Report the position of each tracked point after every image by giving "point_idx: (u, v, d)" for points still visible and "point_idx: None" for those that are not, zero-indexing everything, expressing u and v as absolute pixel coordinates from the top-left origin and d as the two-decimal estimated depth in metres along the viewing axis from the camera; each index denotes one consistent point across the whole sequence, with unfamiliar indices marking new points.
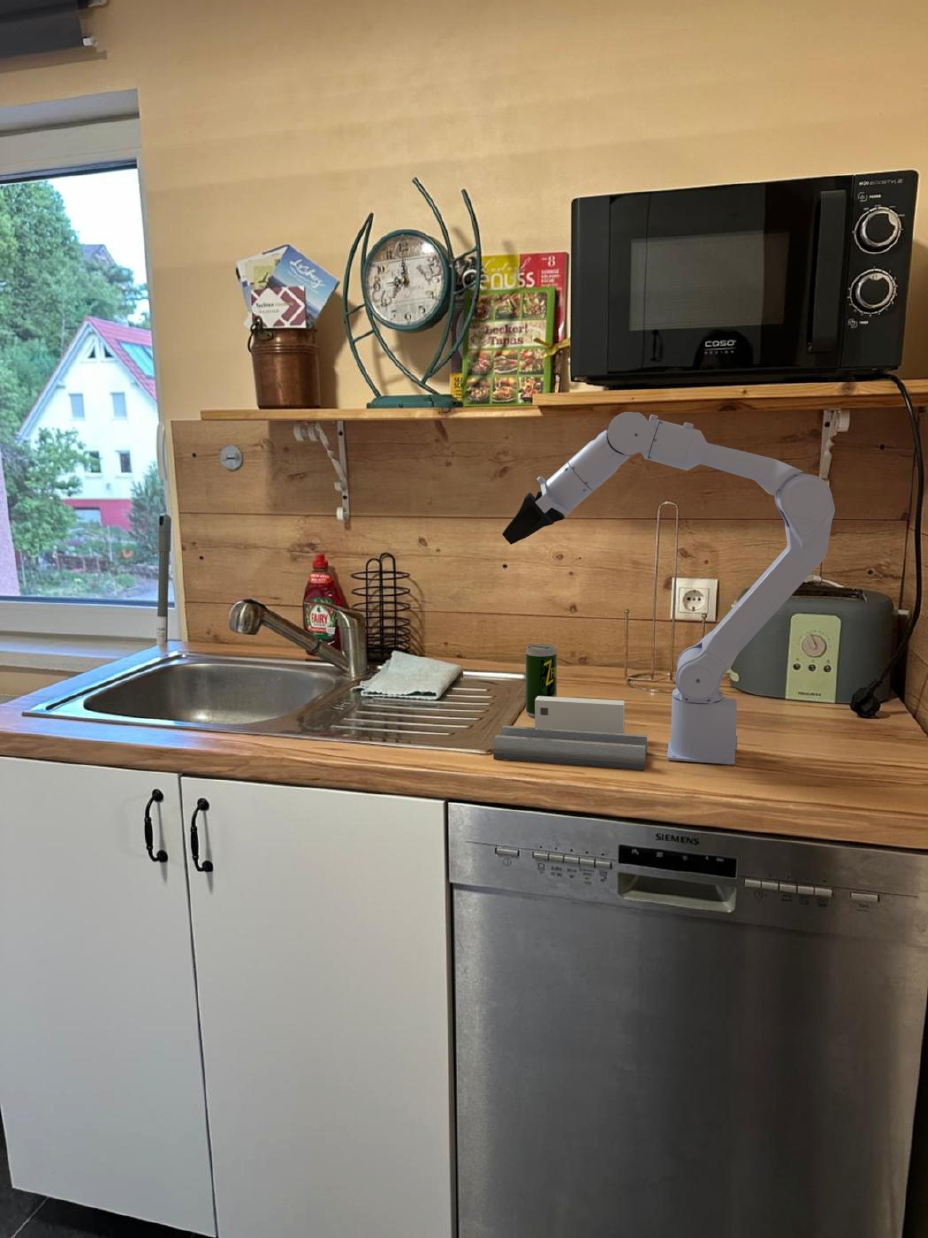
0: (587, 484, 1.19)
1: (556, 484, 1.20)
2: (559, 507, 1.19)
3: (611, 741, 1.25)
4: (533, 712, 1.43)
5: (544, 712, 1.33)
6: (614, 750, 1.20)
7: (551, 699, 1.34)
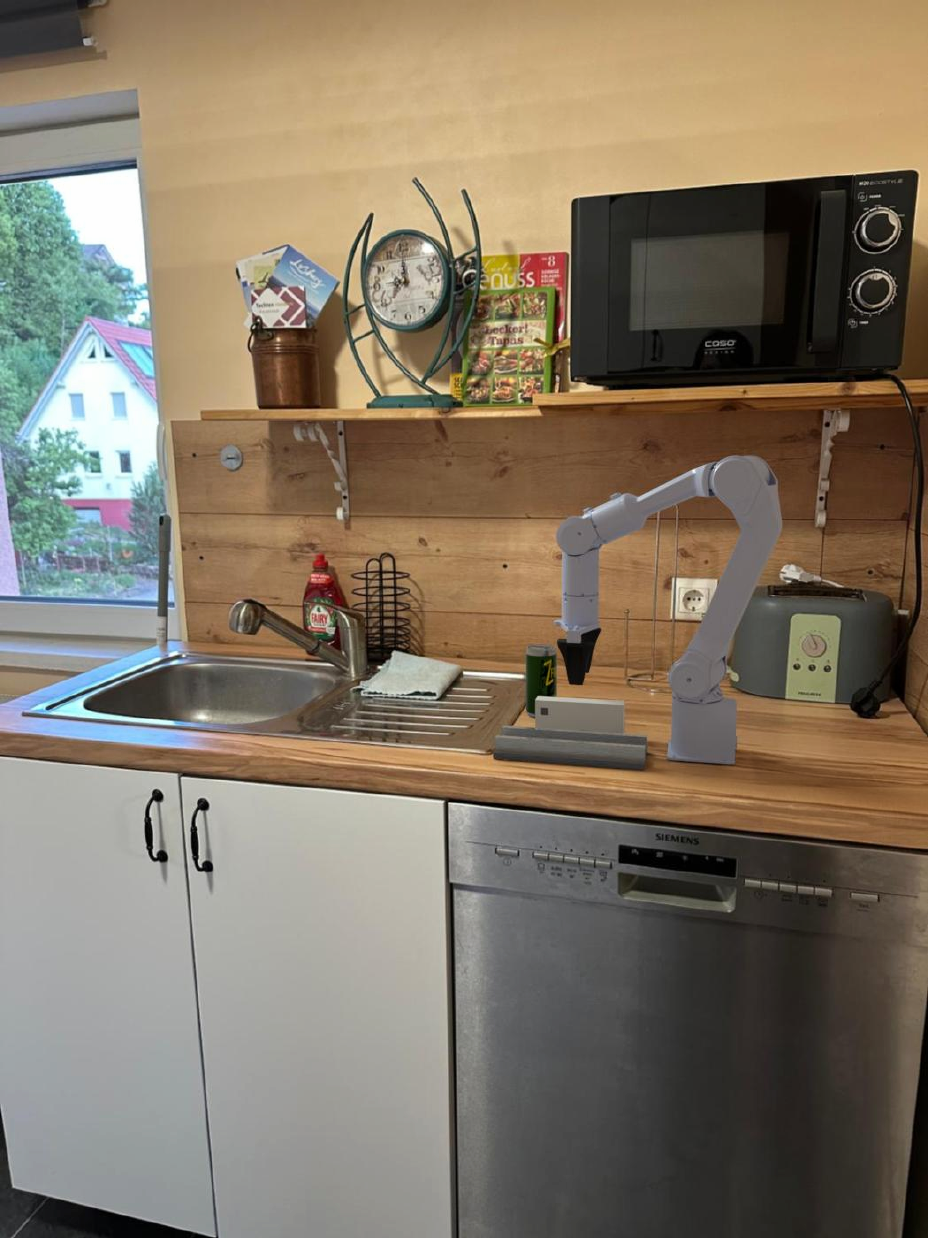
0: (584, 595, 1.27)
1: (569, 615, 1.28)
2: (586, 628, 1.26)
3: (611, 741, 1.25)
4: (533, 712, 1.43)
5: (544, 712, 1.33)
6: (614, 750, 1.20)
7: (551, 699, 1.34)
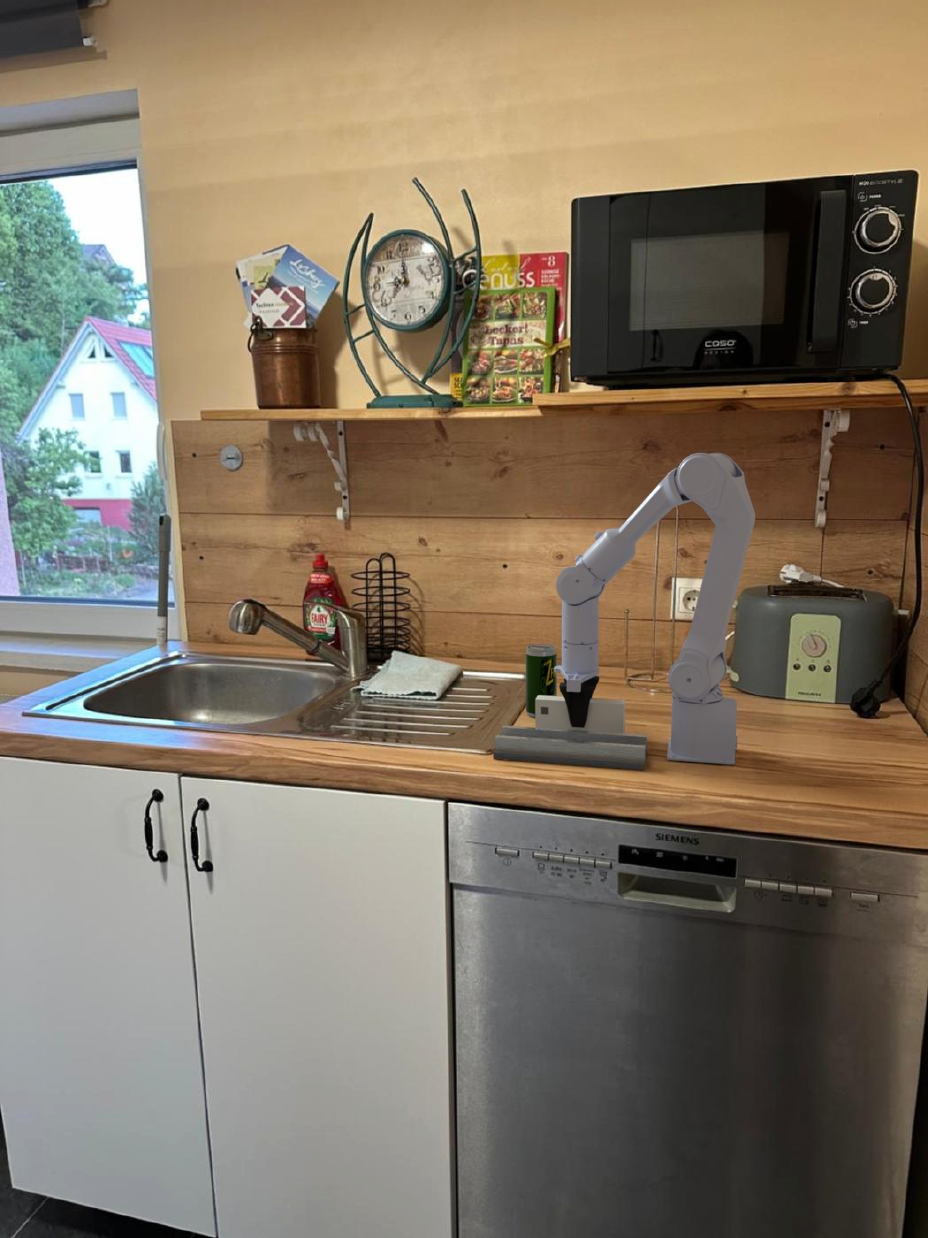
0: (584, 643, 1.28)
1: (569, 663, 1.29)
2: (586, 677, 1.27)
3: (611, 741, 1.25)
4: (533, 712, 1.43)
5: (544, 711, 1.33)
6: (614, 750, 1.20)
7: (551, 698, 1.34)
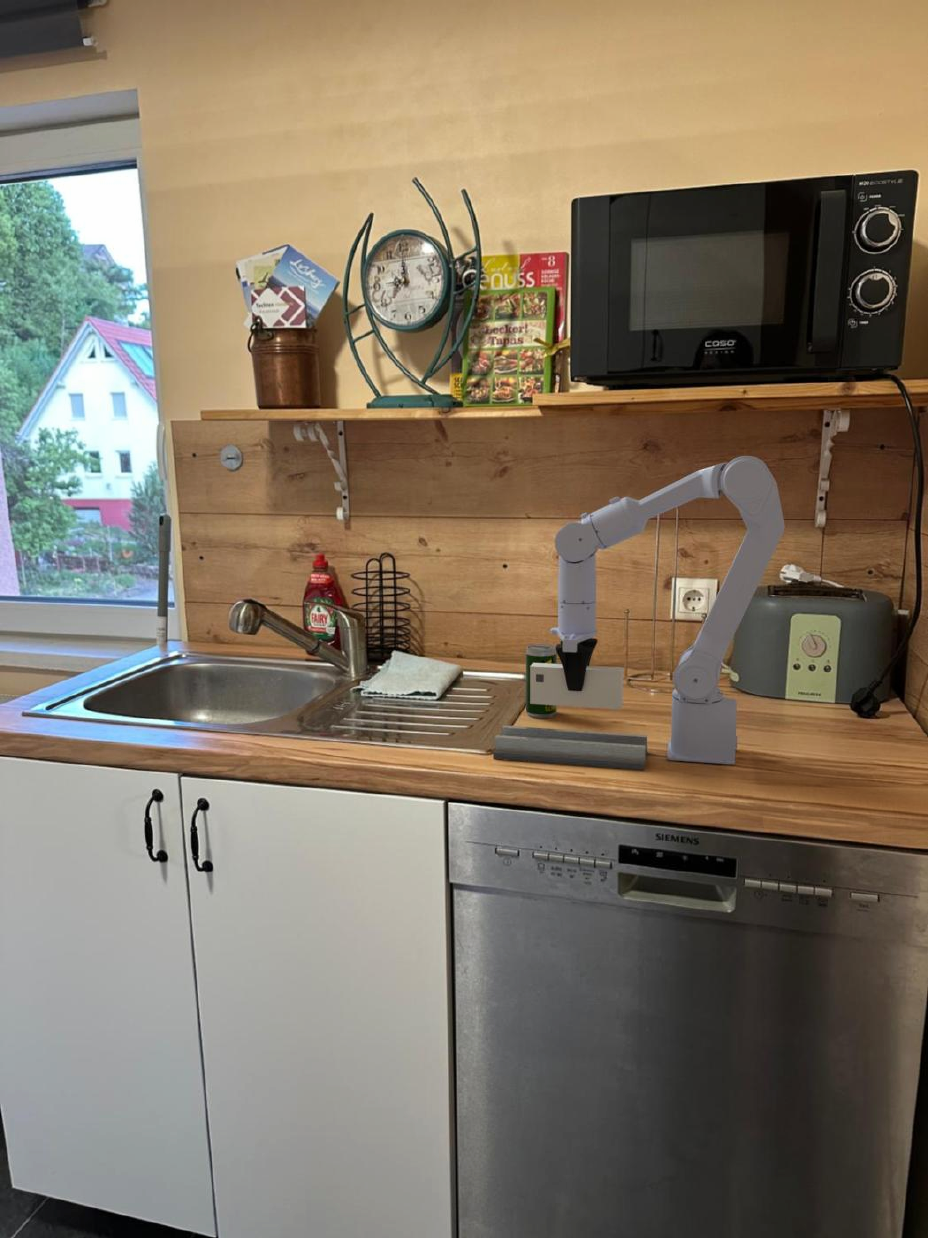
0: (585, 602, 1.23)
1: (566, 623, 1.25)
2: (583, 637, 1.22)
3: (611, 741, 1.25)
4: (533, 712, 1.43)
5: (540, 679, 1.29)
6: (614, 750, 1.20)
7: (547, 665, 1.29)
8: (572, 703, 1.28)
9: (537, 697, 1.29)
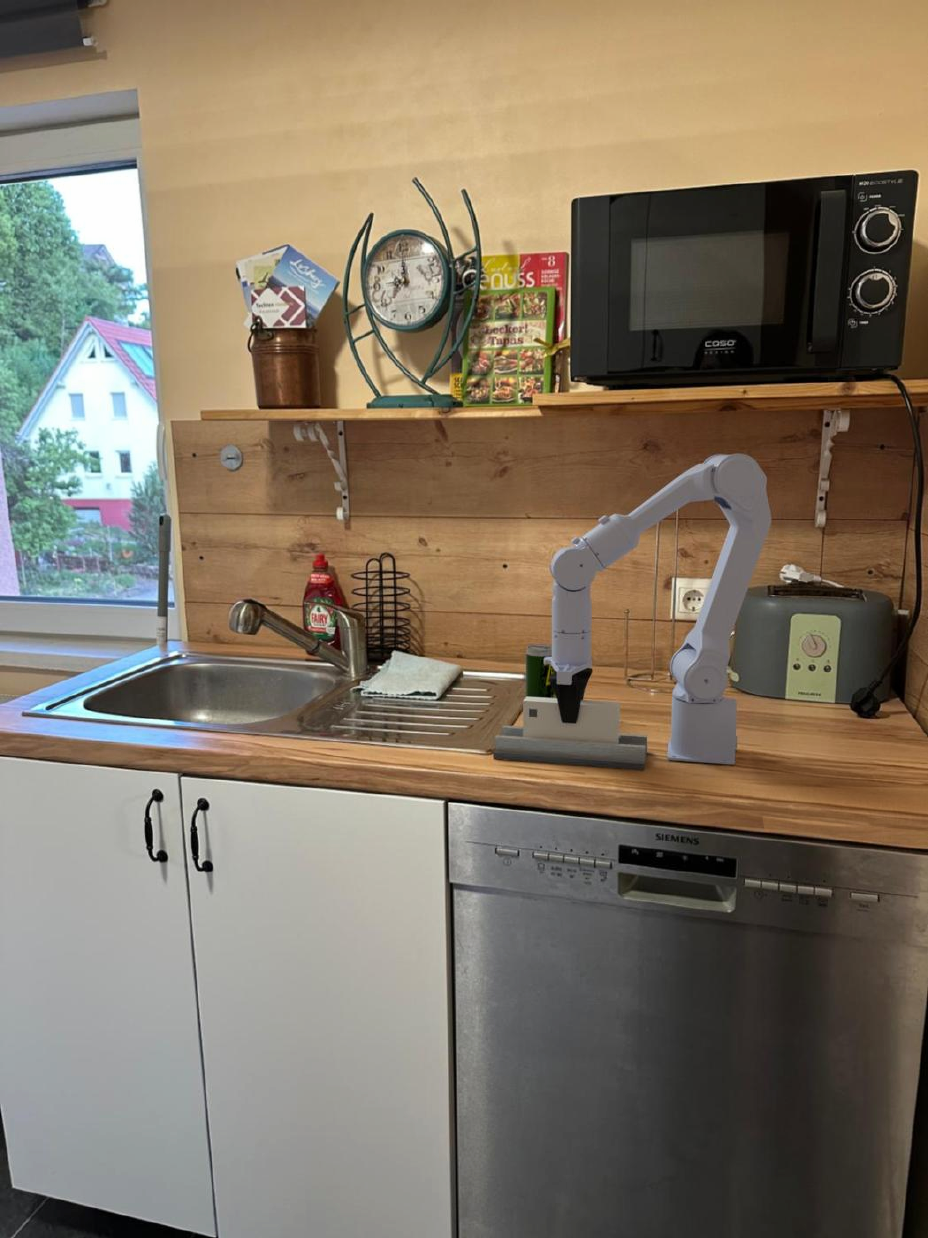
0: (584, 631, 1.19)
1: (560, 653, 1.20)
2: (578, 668, 1.17)
3: None
4: None
5: (533, 714, 1.24)
6: (614, 750, 1.20)
7: (540, 699, 1.24)
8: (567, 739, 1.23)
9: (530, 733, 1.25)
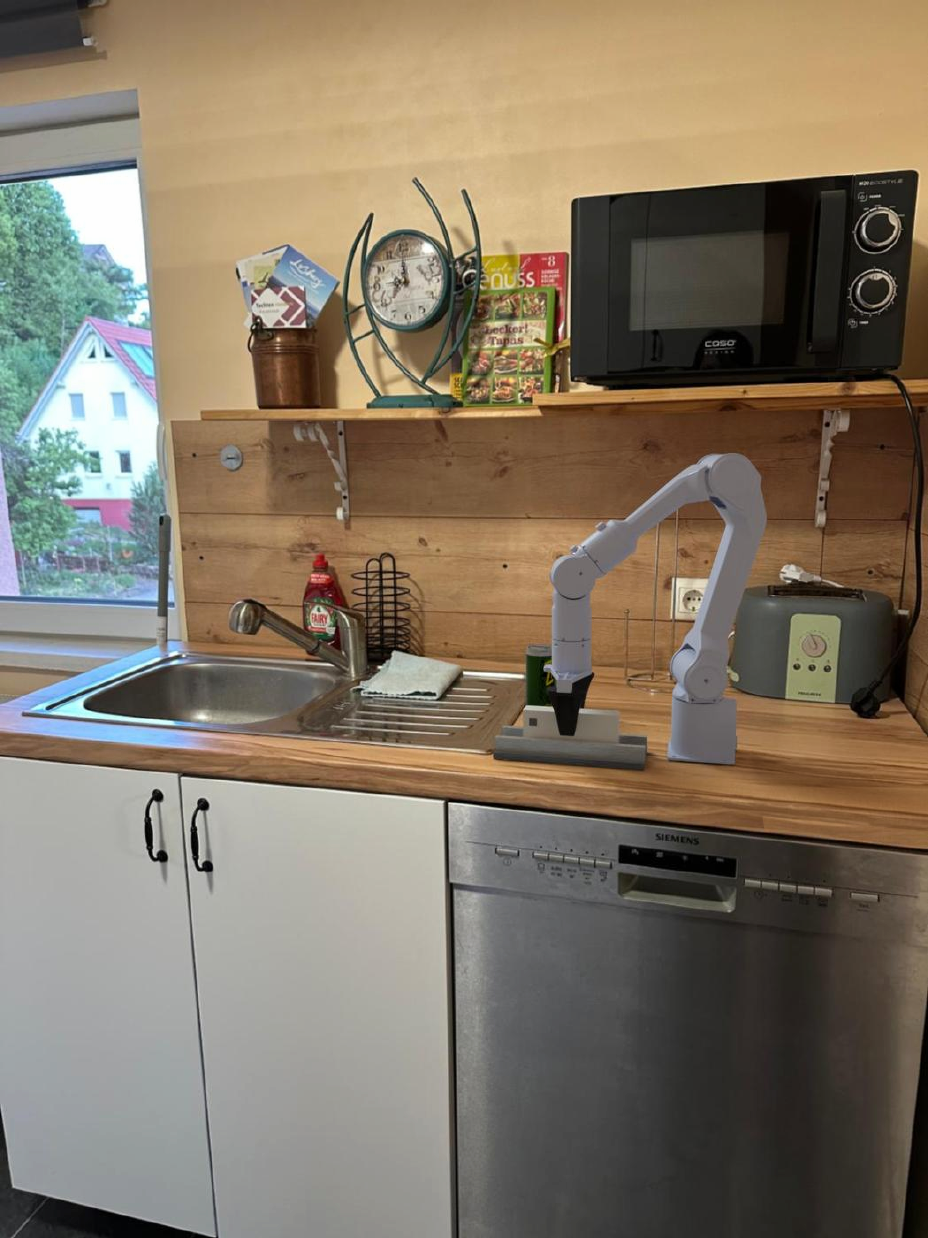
0: (584, 639, 1.19)
1: (560, 661, 1.20)
2: (578, 676, 1.18)
3: None
4: None
5: (533, 723, 1.24)
6: (614, 750, 1.20)
7: (540, 708, 1.25)
8: None
9: None
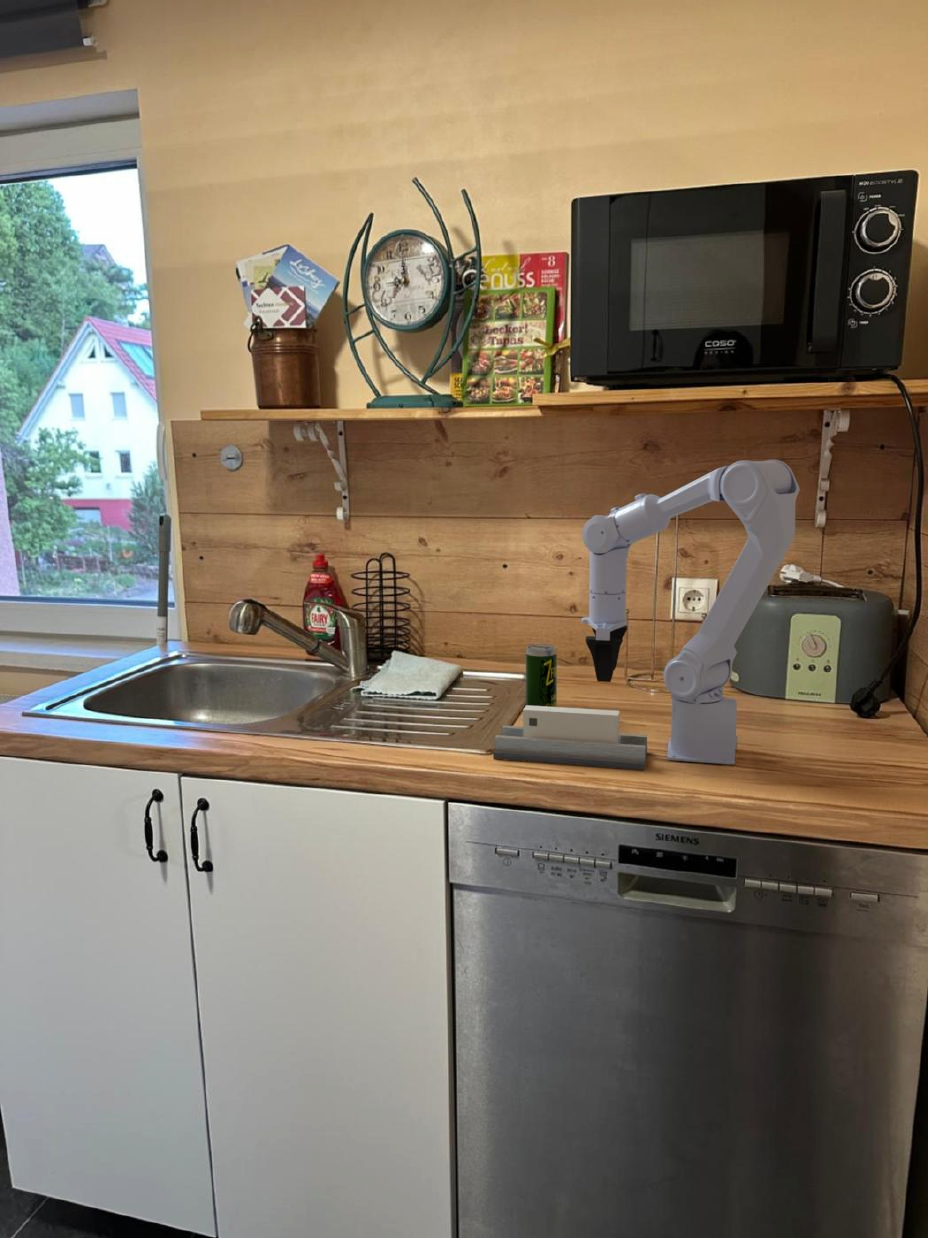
0: (608, 593, 1.28)
1: (597, 613, 1.30)
2: (615, 626, 1.27)
3: None
4: None
5: (533, 723, 1.24)
6: (614, 750, 1.20)
7: (540, 708, 1.25)
8: None
9: None
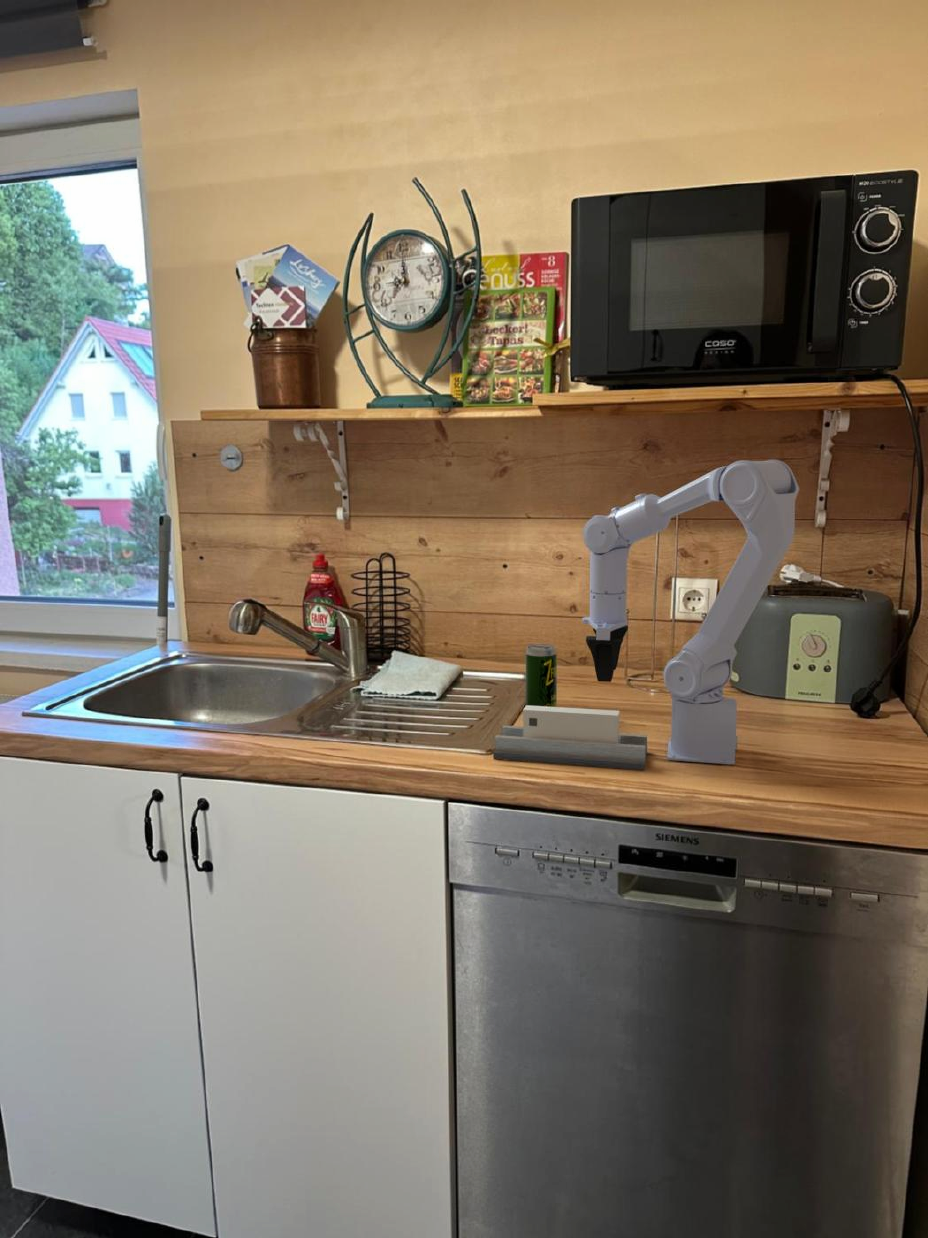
0: (608, 593, 1.29)
1: (598, 613, 1.30)
2: (615, 626, 1.28)
3: None
4: None
5: (533, 723, 1.24)
6: (614, 750, 1.20)
7: (540, 708, 1.25)
8: None
9: None
